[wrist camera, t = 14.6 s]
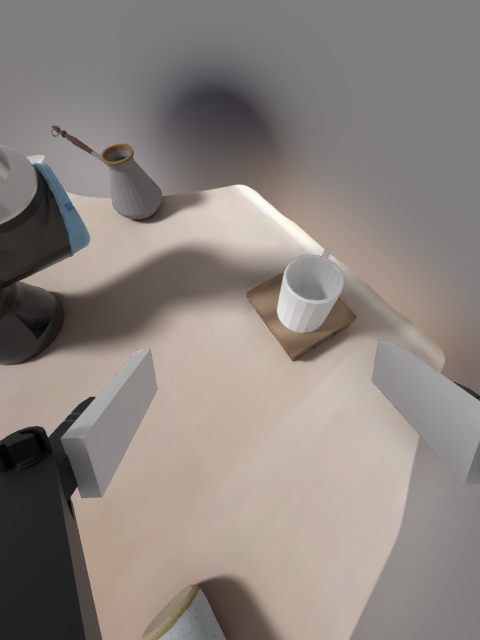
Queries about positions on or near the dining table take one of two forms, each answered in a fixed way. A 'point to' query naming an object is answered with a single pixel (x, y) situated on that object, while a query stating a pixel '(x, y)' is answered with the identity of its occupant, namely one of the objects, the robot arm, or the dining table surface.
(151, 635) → the ceramic mug
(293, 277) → the mug
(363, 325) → the dining table surface
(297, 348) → the dock
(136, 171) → the coffee pot
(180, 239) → the dining table surface
